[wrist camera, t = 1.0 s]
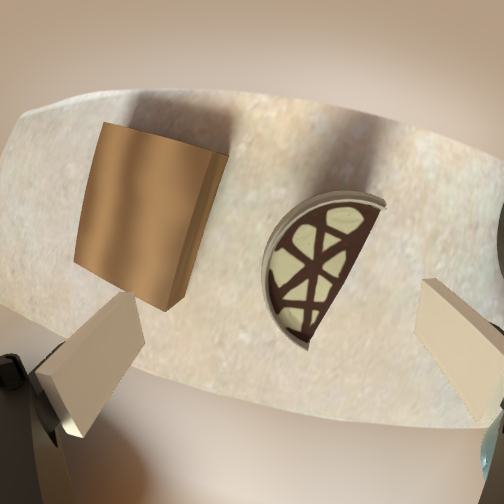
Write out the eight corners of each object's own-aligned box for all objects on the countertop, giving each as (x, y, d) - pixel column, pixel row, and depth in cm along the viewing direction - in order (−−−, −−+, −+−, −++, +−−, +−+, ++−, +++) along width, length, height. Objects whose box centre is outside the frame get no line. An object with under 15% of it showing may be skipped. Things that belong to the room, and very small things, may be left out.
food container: (309, 167, 28) (303, 157, 18) (367, 196, 27) (390, 201, 18) (257, 279, 31) (228, 319, 22) (310, 306, 31) (304, 357, 21)
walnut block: (229, 156, 30) (213, 151, 25) (185, 295, 34) (165, 312, 29) (130, 128, 32) (103, 121, 27) (99, 253, 36) (73, 261, 31)
